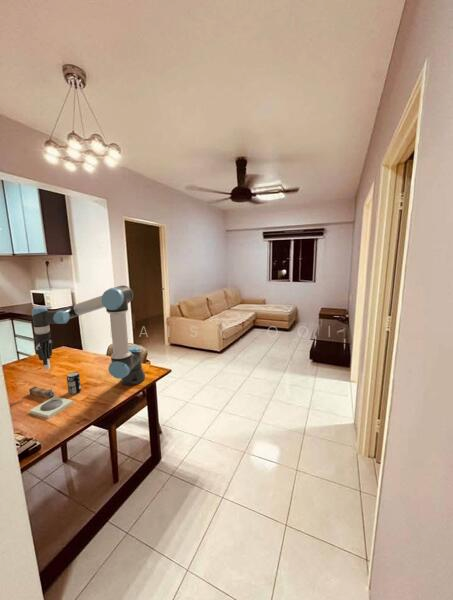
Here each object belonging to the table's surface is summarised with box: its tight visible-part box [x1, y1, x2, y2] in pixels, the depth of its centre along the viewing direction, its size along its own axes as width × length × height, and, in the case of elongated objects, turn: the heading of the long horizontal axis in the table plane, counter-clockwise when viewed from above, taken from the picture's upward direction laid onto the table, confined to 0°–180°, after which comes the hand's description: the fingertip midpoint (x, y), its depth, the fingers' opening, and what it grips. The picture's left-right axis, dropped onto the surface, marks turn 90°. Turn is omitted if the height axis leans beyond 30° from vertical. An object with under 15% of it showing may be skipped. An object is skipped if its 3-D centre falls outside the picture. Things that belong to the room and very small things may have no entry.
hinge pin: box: [49, 389, 55, 399], centre depth 146 cm, size 3×3×4 cm
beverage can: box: [66, 371, 82, 396], centre depth 151 cm, size 7×7×12 cm
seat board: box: [29, 395, 74, 419], centre depth 137 cm, size 14×14×2 cm
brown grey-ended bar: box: [29, 386, 52, 399], centre depth 148 cm, size 15×3×4 cm, turn 72°
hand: (47, 368), depth 154 cm, fingers closed
